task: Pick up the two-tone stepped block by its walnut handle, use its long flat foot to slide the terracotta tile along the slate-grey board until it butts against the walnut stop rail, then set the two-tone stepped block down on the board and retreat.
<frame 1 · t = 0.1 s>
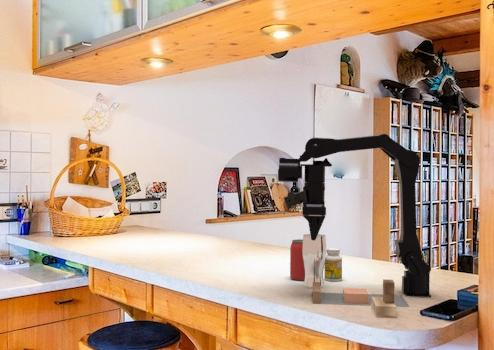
hand: (313, 238, 149), 15 cm above the table, tool pointing down, fingers open, 8 cm apart
supplement bottle: (333, 280, 164), on the table
two-tone stepped block: (388, 314, 127), on the table
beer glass: (313, 287, 155), on the table, touching gripper
beer can: (300, 279, 165), on the table
slate board: (358, 300, 139), on the table
tile: (355, 300, 138), resting on slate board
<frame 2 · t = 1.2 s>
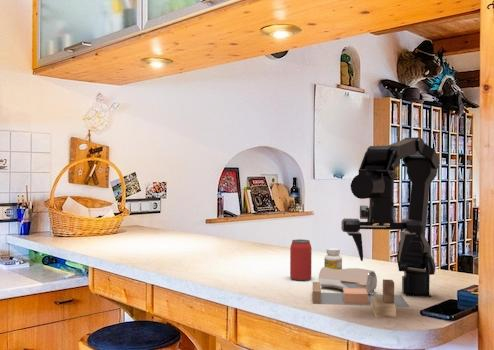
hand: (380, 261, 129), 12 cm above the table, tool pointing down, fingers open, 9 cm apart
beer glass: (323, 277, 154), point 3 cm above the table, touching slate board
everything else where it was.
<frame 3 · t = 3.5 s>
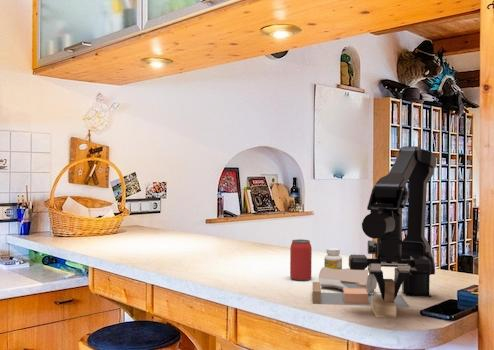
hand: (388, 298, 127), 4 cm above the table, tool pointing down, fingers closed on two-tone stepped block, 2 cm apart
two-tone stepped block: (388, 313, 127), on the table, touching gripper
everything else where it was.
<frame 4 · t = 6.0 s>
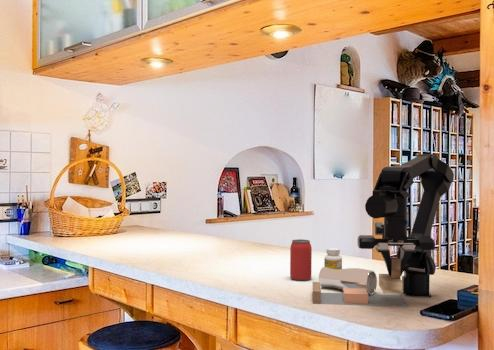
hand: (395, 275, 137), 7 cm above the table, tool pointing down, fingers closed on two-tone stepped block, 2 cm apart
two-tone stepped block: (394, 289, 137), point 4 cm above the table, touching gripper
everything else where it was.
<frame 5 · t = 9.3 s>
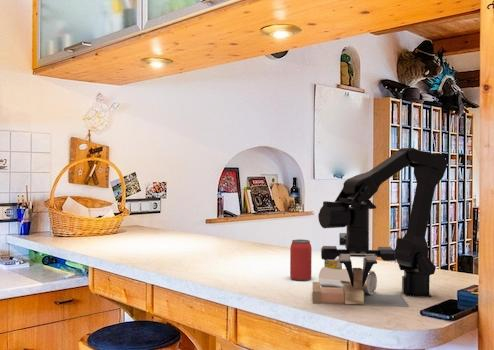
hand: (357, 286, 138), 4 cm above the table, tool pointing down, fingers closed on two-tone stepped block, 2 cm apart
two-tone stepped block: (357, 299, 138), point 1 cm above the table, touching gripper
tile: (331, 299, 139), resting on slate board
everything else where it was.
when the fingers open (4 cm above the table, at t = 10.5 s): two-tone stepped block stays where it is, resting on slate board.
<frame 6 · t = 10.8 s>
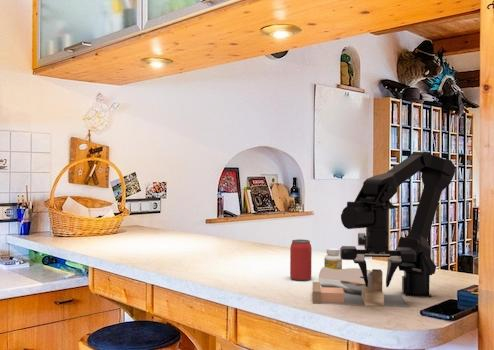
hand: (376, 286, 137), 4 cm above the table, tool pointing down, fingers open, 5 cm apart
two-tone stepped block: (377, 301, 137), resting on slate board
everything else where it was.
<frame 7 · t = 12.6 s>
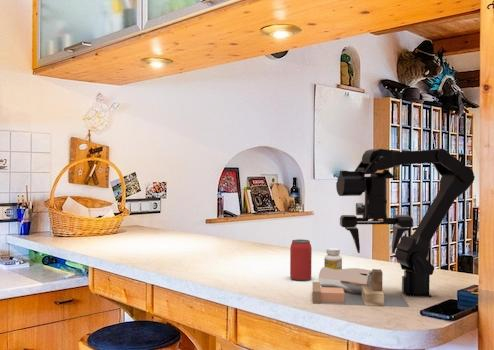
hand: (375, 252, 143), 12 cm above the table, tool pointing down, fingers open, 9 cm apart
nothing on the table moved.
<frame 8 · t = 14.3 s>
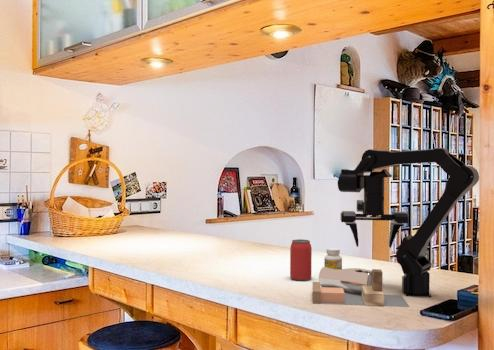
hand: (373, 247, 153), 12 cm above the table, tool pointing down, fingers open, 9 cm apart
nothing on the table moved.
at the end: tile 0.8 cm from the target spot, resting on slate board; the gripper is holding nothing; two-tone stepped block resting on slate board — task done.
